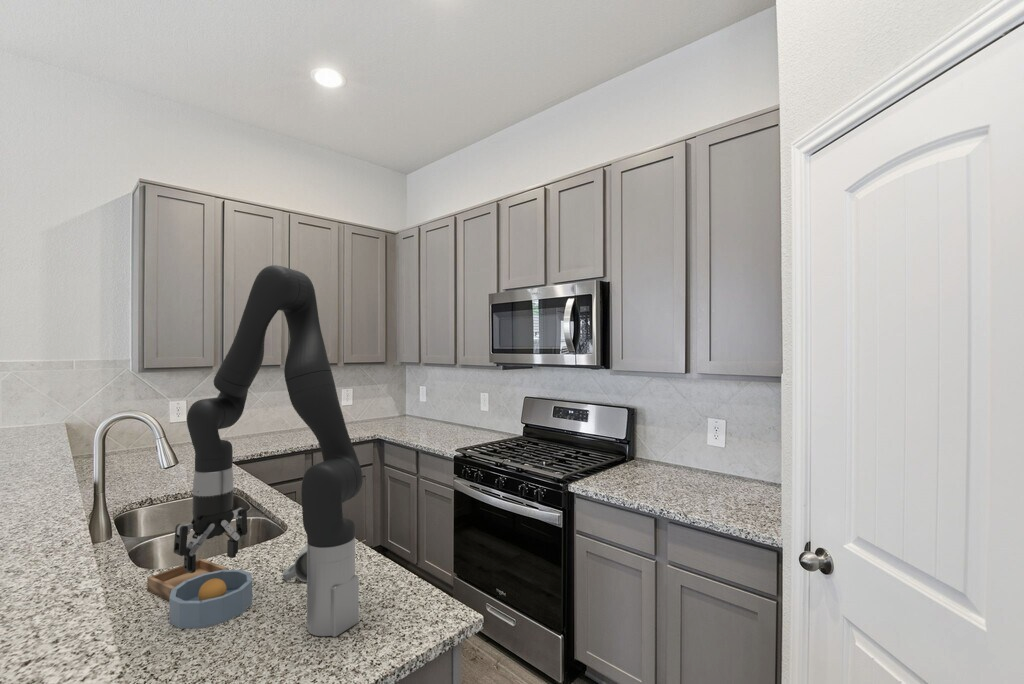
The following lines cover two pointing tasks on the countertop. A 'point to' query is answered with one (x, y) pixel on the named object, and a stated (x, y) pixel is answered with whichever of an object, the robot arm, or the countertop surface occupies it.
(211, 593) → the ball
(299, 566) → the ceramic mug
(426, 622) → the countertop surface
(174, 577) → the tray
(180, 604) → the faceted grey bowl
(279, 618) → the countertop surface
